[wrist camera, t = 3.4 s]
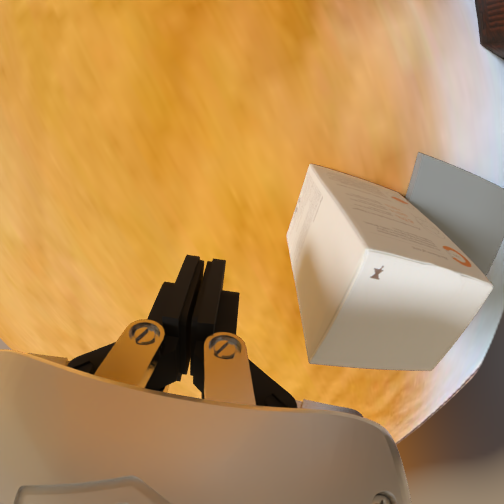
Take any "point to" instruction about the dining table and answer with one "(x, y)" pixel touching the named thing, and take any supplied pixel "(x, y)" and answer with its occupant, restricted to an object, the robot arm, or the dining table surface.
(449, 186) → the mat
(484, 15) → the manual coffee grinder
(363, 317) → the small box
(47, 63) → the dining table surface
